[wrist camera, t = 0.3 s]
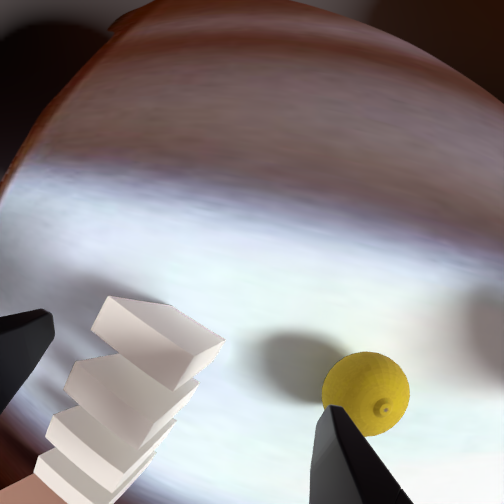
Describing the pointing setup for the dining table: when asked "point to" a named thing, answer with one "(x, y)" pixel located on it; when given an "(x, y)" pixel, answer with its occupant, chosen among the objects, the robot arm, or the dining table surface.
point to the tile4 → (125, 397)
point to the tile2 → (79, 479)
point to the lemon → (368, 391)
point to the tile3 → (99, 446)
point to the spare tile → (29, 492)
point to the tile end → (157, 339)
